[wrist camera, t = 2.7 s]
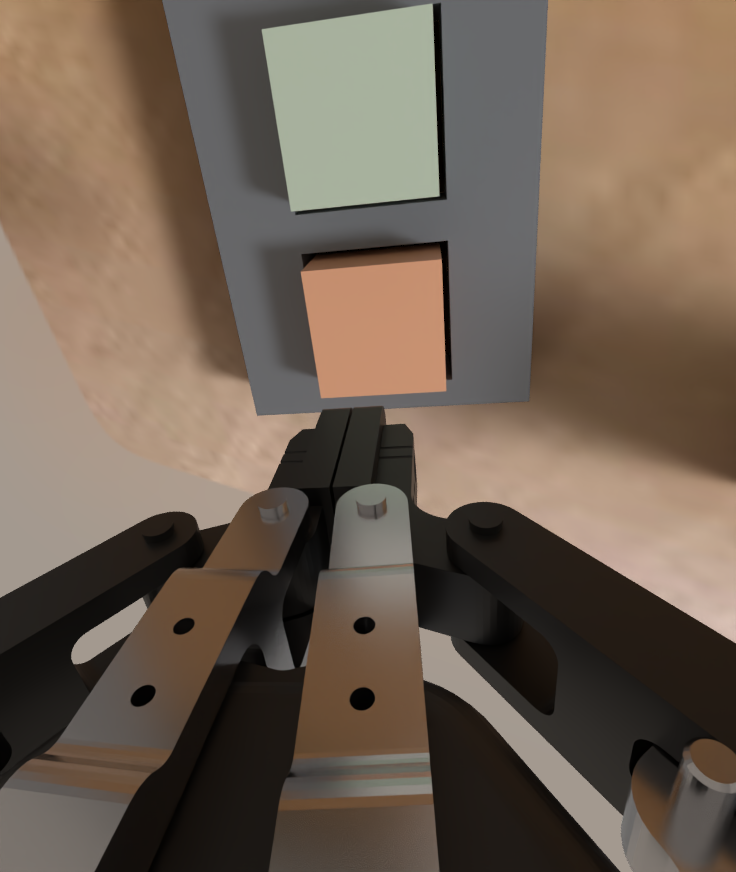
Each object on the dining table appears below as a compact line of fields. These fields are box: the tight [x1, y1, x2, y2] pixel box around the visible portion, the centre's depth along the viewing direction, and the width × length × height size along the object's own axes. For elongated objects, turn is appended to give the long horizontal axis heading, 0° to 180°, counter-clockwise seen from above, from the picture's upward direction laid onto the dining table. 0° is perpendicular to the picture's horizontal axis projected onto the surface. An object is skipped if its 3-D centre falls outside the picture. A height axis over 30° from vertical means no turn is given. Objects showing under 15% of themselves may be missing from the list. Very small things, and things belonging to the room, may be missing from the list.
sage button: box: [262, 3, 439, 212], centre depth 18 cm, size 5×5×3 cm
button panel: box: [162, 0, 548, 416], centre depth 19 cm, size 22×12×3 cm, turn 6°
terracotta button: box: [301, 243, 446, 398], centre depth 21 cm, size 5×5×3 cm
